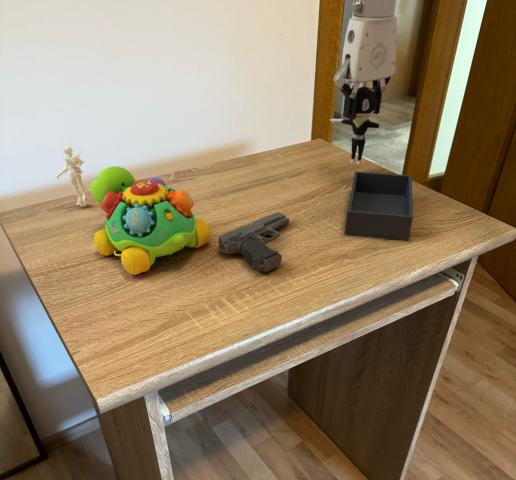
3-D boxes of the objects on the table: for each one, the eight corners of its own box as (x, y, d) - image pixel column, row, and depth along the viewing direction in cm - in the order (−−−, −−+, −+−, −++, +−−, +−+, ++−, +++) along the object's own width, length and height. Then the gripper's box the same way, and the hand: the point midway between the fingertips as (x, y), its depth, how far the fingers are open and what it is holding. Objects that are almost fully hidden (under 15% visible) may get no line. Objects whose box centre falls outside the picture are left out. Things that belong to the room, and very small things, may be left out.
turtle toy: (148, 207, 97) (137, 147, 89) (225, 249, 85) (220, 184, 77) (70, 237, 88) (51, 174, 81) (143, 289, 76) (129, 219, 68)
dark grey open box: (407, 196, 99) (411, 175, 96) (408, 240, 86) (413, 217, 83) (352, 192, 101) (354, 171, 98) (344, 234, 88) (347, 211, 85)
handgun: (327, 229, 85) (276, 206, 91) (263, 260, 75) (211, 233, 82) (325, 245, 87) (275, 222, 93) (262, 278, 77) (211, 250, 84)
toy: (321, 162, 106) (326, 87, 96) (331, 153, 110) (337, 79, 100) (381, 172, 102) (393, 94, 92) (389, 162, 106) (401, 86, 96)
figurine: (61, 205, 98) (43, 145, 90) (90, 198, 101) (75, 138, 93) (69, 215, 95) (51, 153, 87) (99, 207, 97) (84, 146, 89)
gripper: (350, 15, 82) (340, 127, 94) (423, 6, 89) (404, 112, 100) (323, 10, 87) (316, 118, 98) (393, 2, 93) (379, 103, 105)
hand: (361, 114), depth 99 cm, fingers closed on toy, 5 cm apart
